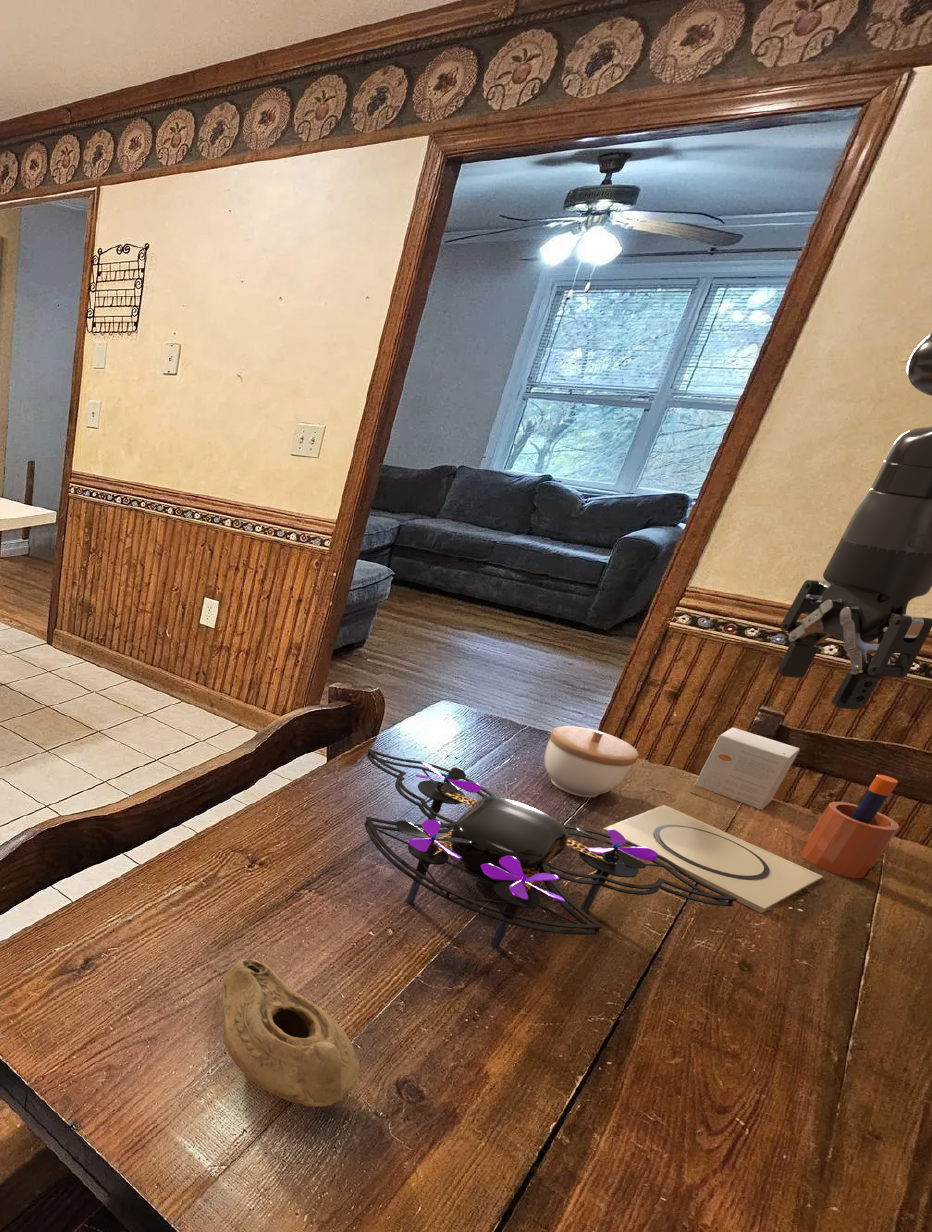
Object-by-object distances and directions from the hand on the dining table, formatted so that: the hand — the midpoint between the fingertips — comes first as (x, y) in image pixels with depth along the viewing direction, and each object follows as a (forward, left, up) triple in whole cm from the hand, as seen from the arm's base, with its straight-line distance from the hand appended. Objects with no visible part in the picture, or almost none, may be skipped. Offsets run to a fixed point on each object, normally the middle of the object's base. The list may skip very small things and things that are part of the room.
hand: (815, 690), depth 84 cm
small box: (-32, -10, -28) cm, 43 cm away
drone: (+27, -11, -28) cm, 41 cm away
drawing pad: (-12, -4, -28) cm, 30 cm away
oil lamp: (+67, -4, -28) cm, 73 cm away
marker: (-26, +4, -27) cm, 38 cm away
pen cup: (-26, +4, -28) cm, 38 cm away
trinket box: (-14, -22, -28) cm, 38 cm away
